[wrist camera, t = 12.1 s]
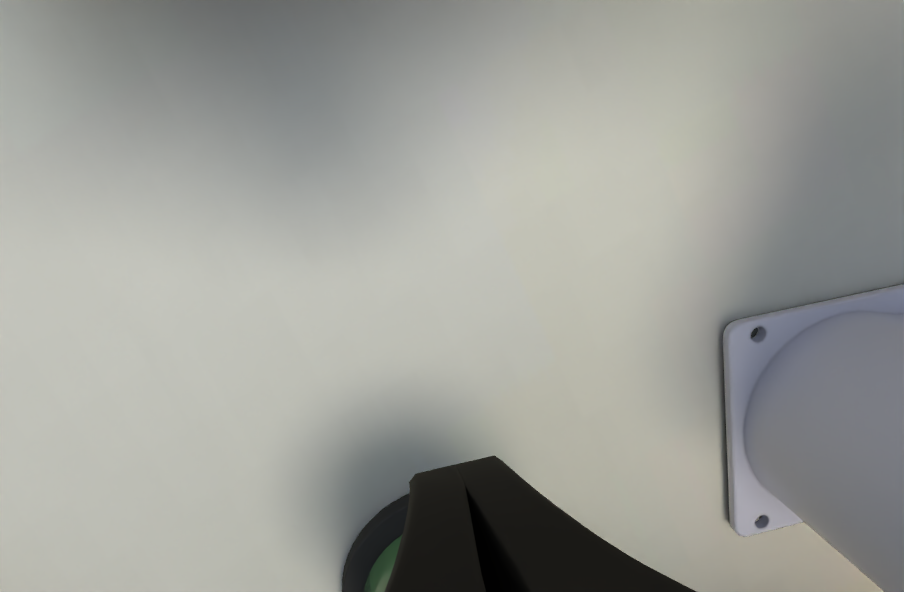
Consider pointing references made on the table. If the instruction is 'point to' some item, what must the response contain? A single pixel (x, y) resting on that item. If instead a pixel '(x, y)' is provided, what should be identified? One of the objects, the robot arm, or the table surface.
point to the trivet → (373, 544)
